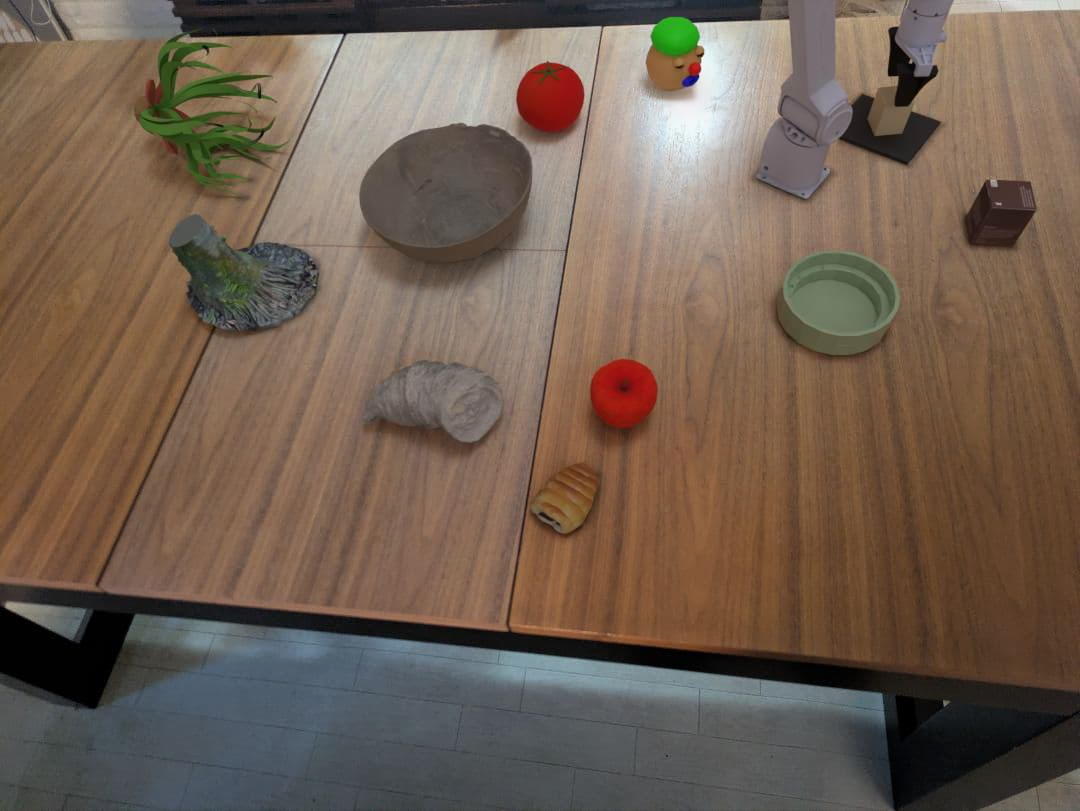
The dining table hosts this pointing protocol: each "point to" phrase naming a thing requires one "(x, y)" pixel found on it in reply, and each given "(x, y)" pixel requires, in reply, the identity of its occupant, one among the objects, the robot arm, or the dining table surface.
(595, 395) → the apple
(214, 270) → the tree stump
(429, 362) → the seashell
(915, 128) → the mat
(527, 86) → the tomato
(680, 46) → the figurine
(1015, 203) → the box
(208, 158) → the decorative plant
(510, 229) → the bowl
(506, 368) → the dining table surface
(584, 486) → the pastry
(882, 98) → the block
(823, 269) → the green bowl
